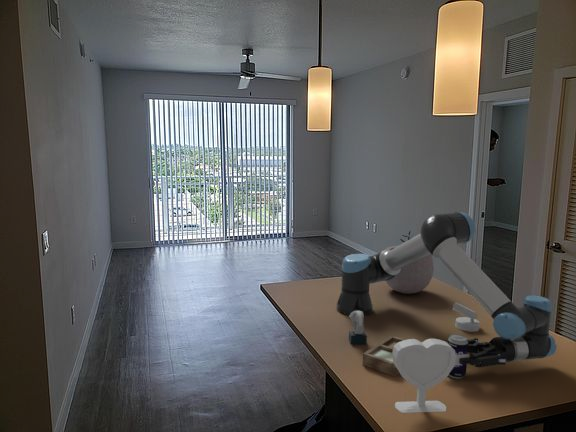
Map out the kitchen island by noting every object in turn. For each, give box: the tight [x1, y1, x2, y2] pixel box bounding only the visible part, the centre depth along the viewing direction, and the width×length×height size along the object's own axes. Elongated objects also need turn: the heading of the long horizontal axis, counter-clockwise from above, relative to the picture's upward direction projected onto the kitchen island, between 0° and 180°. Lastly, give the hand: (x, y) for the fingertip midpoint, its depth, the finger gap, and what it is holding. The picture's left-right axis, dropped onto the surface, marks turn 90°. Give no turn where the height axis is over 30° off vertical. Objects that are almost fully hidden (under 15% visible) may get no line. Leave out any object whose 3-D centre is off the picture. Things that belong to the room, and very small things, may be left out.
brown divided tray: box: [362, 335, 406, 377], centre depth 142 cm, size 11×19×4 cm, turn 140°
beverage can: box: [447, 333, 469, 380], centre depth 132 cm, size 6×6×12 cm
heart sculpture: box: [392, 338, 456, 414], centre depth 114 cm, size 16×5×18 cm, turn 94°
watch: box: [348, 311, 368, 345], centre depth 155 cm, size 6×8×11 cm
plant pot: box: [385, 231, 434, 295], centre depth 212 cm, size 24×24×30 cm
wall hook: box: [452, 302, 481, 333], centre depth 170 cm, size 9×10×10 cm
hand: (442, 356), depth 130 cm, fingers closed on beverage can, 6 cm apart
